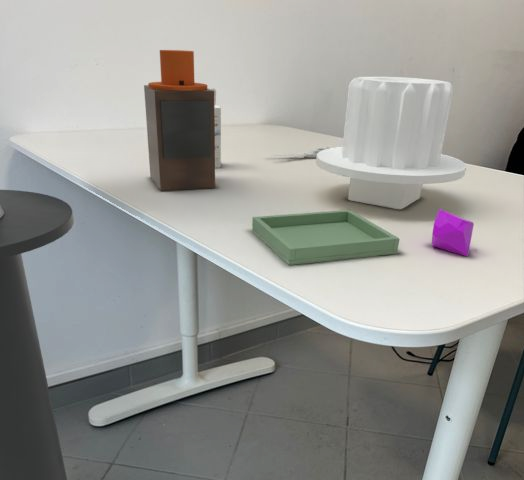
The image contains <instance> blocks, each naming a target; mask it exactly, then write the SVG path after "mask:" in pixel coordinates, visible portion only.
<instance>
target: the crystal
mask: <svg viewBox="0 0 524 480" xmlns="http://www.w3.org/2000/svg"><path fill="white" fill-rule="evenodd" d="M473 230H474V222H473V221H470V220H468V219H466V218H463V217H461V216H459V215H456V214H454V213H451V212H448V211H445V210H443V209H441V208H439V209H438V212H437V215H436V217H435V220H434V222H433V227H432V234H431V246H432V247H435V248H437V249H441V250H445V251H447V252H451V253H455V254H458V255H461V256H465V257H469V252H470V248H471V247H470V246H471V241H472V236H473Z"/></svg>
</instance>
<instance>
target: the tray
mask: <svg viewBox="0 0 524 480" xmlns="http://www.w3.org/2000/svg"><path fill="white" fill-rule="evenodd" d="M251 224H252V225H251V226H252V228H251V232H253V233H254V234H255V236H257V237H258V238H259V239H260V240H261V241H262V242H263V243H264V244H265V245H266V246H268V247H269V249H271V250H272V252H274V253H275V254H276V255H277V256H278V257H280V258H281V259H282V261H284V262H285V263H286V264H287V265H288V266H293V265H303V264H311V263H312V264H313V263H321V262H330V261H331V262H332V261H339V260H349V259H359V258H368V257H376V256H377V257H378V256H386V255H395V254H398V251H399V244H400V237H398V236H396V235H394V234H392V233H391V232H389V231H388V230H387V229H385V228H382V227H380V226H379V225H377V224H375V223H373V222H372V221H370V220H369V219H367V218H365V217H363V216H362V215H360V214H358V213H356V212H354V211H353V210H351V209H343V210H330V211H316V212H301V213H289V214H276V215H262V216H252V223H251Z"/></svg>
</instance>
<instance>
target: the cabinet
mask: <svg viewBox="0 0 524 480" xmlns="http://www.w3.org/2000/svg"><path fill="white" fill-rule="evenodd" d="M210 89H211V88H209V89H206V90H198V91H172V90H158V89H151V88H149V87H148V84H144V85H143V90H144V103H145V105H144V106H145V120H146V131H147V132H146V134H147V135H146V136H147V148H148V163H149V164H148V165H149V178H150V180H151V181H152V182H153V183H154V184H155V185H156V186H157V188H158V190H160V191H161V192H166V191H167V192H168V191H185V190H202V189H203V190H204V189H216V168H215V117H214V91H213V90H210Z"/></svg>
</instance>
